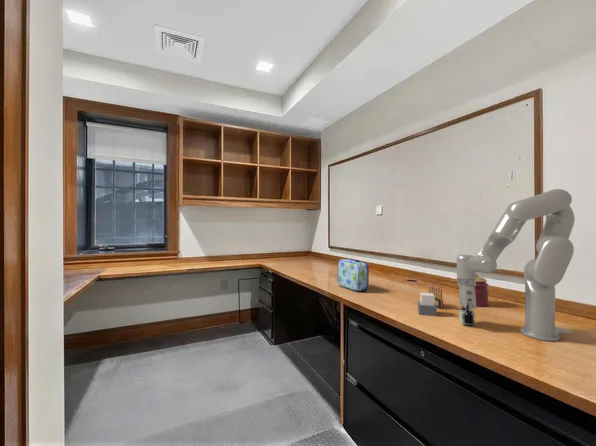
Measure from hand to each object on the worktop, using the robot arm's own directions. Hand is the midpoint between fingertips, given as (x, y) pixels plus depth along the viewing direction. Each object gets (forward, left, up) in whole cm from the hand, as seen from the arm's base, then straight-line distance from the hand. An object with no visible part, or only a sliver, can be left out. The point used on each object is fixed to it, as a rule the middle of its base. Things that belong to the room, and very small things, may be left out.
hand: (467, 321), depth 130 cm
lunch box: (+59, -55, -2) cm, 80 cm away
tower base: (+16, -12, -2) cm, 20 cm away
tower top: (+15, -12, +3) cm, 20 cm away
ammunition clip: (+10, -27, -2) cm, 29 cm away
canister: (-13, -40, -2) cm, 42 cm away
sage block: (0, 0, -1) cm, 1 cm away
